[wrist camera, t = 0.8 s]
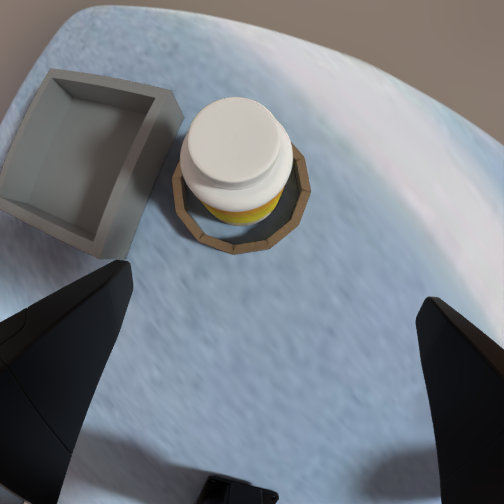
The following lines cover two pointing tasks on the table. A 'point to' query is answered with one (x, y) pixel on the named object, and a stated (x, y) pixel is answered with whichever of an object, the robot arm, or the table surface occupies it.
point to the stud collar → (294, 221)
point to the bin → (89, 159)
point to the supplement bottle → (236, 160)
